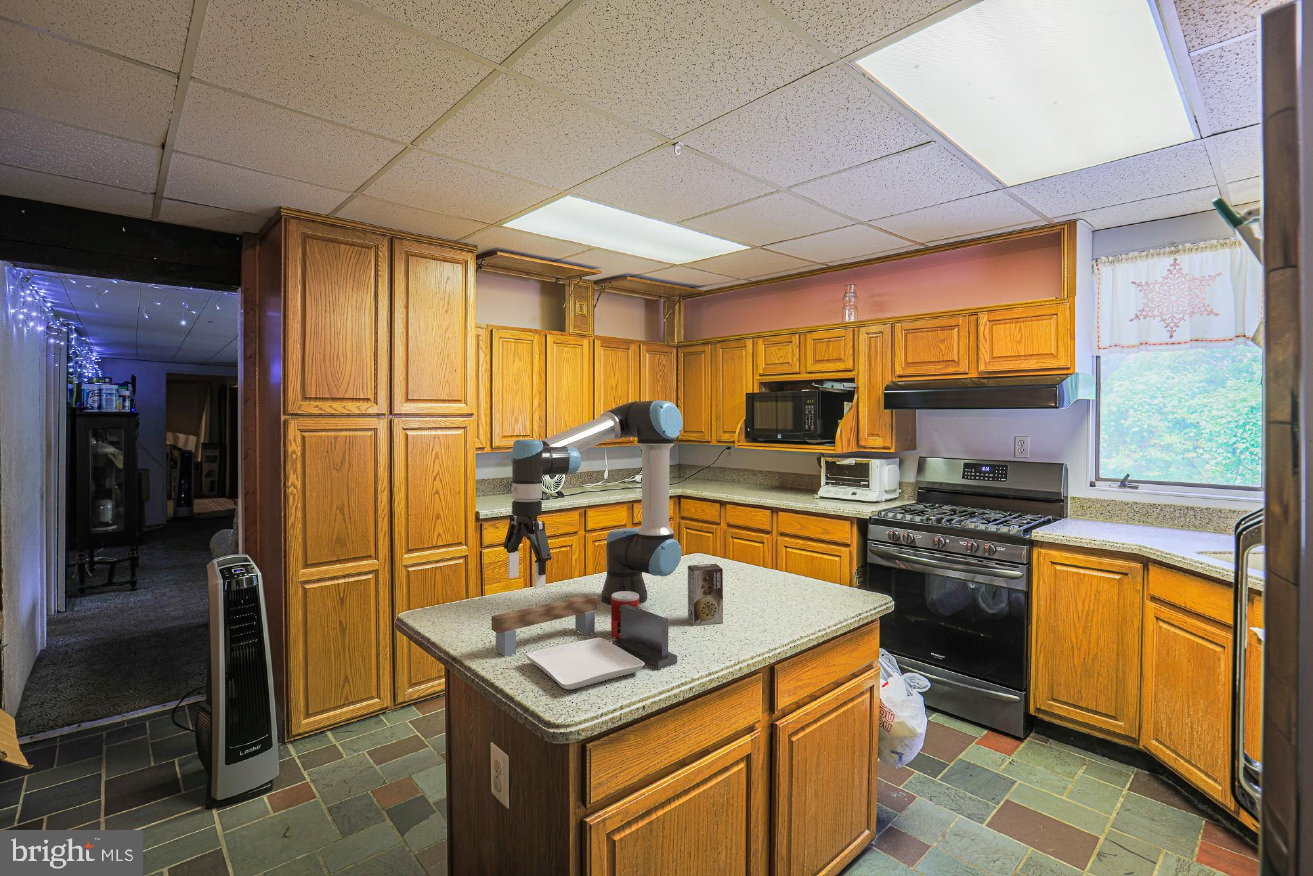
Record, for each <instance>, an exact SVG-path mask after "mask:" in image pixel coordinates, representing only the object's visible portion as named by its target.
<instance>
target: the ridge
mask: <svg viewBox="0 0 1313 876" xmlns="http://www.w3.org/2000/svg"><path fill="white" fill-rule="evenodd" d="M611 643H612V644H614V645H616V646H617V647H619V648H621V649H622V650H624V651H626V652H628V653H629V654H631V655H633V656H634V657H636V658H638V659H640V660H641V661H643V662H644V663H645V664H644V665H646V664H648V665H647V666H649V665H650V666H649V667H651V666H652V667H651V668H653V667H654V668H653V669H655V668H657V669H660V670H662V669H661V668H663V669H665V667H666V668H668V667H667V666H669V667H670V666H671V665H672V666H674V665H677V664H678V655H676V653H673V652H670V651H669V618H667V617H663V616H662V615H658V614H656V613H653V612H650V611H648V610H644V609H643V608H640V607H639V608H637V607H634V606H631V605H628V604H625V605H621V639H617V638H616V639H614V640H612V641H611ZM676 663H677V664H676ZM673 664H674V665H673ZM657 669H656V670H657Z"/></svg>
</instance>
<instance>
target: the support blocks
mask: <svg viewBox="0 0 1313 876" xmlns="http://www.w3.org/2000/svg"><path fill="white" fill-rule="evenodd" d="M595 611H596V610H594V611H590V612H586V613H582V614H578V615H574V617H575V621H574V623H575V629H574V630H576V631H575V632H577V631H579V632H580V633H579V632H578V633H579V634H581V633H582V634H581V635H584V636H589V635H592V634H591V633H593V634H596V633H595V632H596V629H595V628H596V625H595V624H596V622H595V621H596V612H595ZM588 634H589V635H588ZM496 651H497V652H496ZM495 652H496V653H498V652H499V653H500V654H499V653H498V654H499V655H501V654H502V655H503V656H502V655H501V656H502V657H504V656H507V657H511V656H513V655H512V654H515V655H517V629H515V630H511V631H507V632H502V633H496V632H495ZM510 655H511V656H510Z"/></svg>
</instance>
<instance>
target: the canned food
mask: <svg viewBox="0 0 1313 876" xmlns="http://www.w3.org/2000/svg"><path fill="white" fill-rule="evenodd" d="M625 604H628V605H631V606H634V607H637V608H639V609H640V604H639V594H638V593H635V592H631V591H620V592H616V593H613V594H612V595H611V604H610V632H611V636H612V637H613V638H614V637H615V639H616V640H617V639H621V605H625Z"/></svg>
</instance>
